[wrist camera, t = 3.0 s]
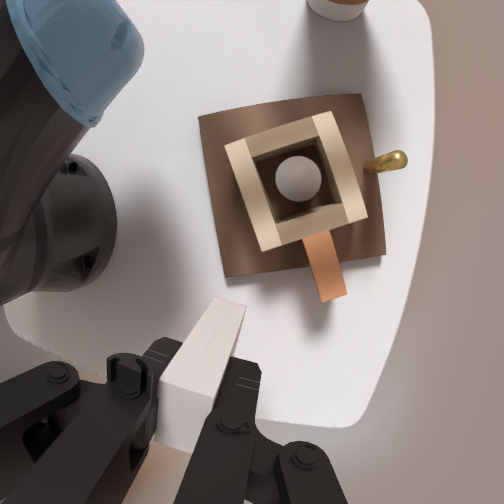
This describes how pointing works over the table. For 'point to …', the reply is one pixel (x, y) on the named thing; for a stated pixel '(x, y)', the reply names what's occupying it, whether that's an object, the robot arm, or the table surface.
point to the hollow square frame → (309, 221)
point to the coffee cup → (338, 8)
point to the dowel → (386, 163)
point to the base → (234, 203)
